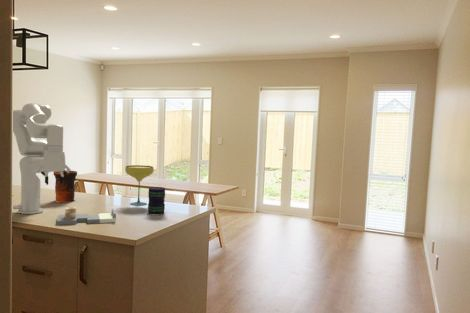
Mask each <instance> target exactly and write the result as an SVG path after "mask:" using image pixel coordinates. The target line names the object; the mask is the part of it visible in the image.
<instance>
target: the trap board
mask: <svg viewBox="0 0 470 313" xmlns="http://www.w3.org/2000/svg"><path fill="white" fill-rule="evenodd" d="M78 223H87V224H104V223H117V213H116V211H115V209H114V208H111V212H105V213H104V212H103V213H101V212H100V213H98V214H93V215H90V214H89V213H80V214H79V213H76V218H69V219H65V214H58V215H57V221H56V225H57V226H63V225H64V226H65V225H77V224H78Z"/></svg>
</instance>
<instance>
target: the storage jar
mask: <svg viewBox="0 0 470 313" xmlns="http://www.w3.org/2000/svg"><path fill="white" fill-rule="evenodd" d="M147 193H148V194H147V195H148V197H147V198H148V204H147V214H148V213H149V215H153V214H159V215H164V214H165V206H166V205H165V197H166V188H165V187H162V186H150V187H148V192H147ZM163 213H164V214H163Z"/></svg>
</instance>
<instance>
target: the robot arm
mask: <svg viewBox="0 0 470 313" xmlns="http://www.w3.org/2000/svg"><path fill="white" fill-rule="evenodd" d="M12 111H13V131H12V133H13V134H14V137H15V140H16V144H17V148H18V152H19V154H20V155H21V156H22V157H21V159H20V160H19V169H20V181H21V182H20V190H21V191H20V203H19V204H18V205H15V204H14V205H13V209H12V210H17V213H18V214H20V213H21V215H34V214H40V213H42V212H44V209H43V208H41V179H40V177H39V176H38V175H37V174H41V175H42V176H44V183H45V184H46V186H48V185H49V175H48V174H49V173H51V172H53V173H54V172H60V174H61V177H60V185H62V183H63V177H64V176H65V175H66V174H67V173H68V172H69V171H72V170H71V168H70V167H69V166H68V165H67V164H66V153H65V151H64V126H63V125H62V124H54V123H47V121H49V120H50V119H51V116H52V109H51V107H50V106H49V105H48V104H42V103H26V104H23V106H22V108H21V109H16V110H12ZM43 139H44V140H43ZM45 139H46V140H45ZM64 170H67V171H65V172H64V173H63V171H64Z"/></svg>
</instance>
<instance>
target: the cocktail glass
mask: <svg viewBox="0 0 470 313" xmlns="http://www.w3.org/2000/svg"><path fill="white" fill-rule="evenodd" d="M125 173H126V174H127V175H129V176H130V177H132V178H134V179H136V180H135V181H137V182H138V192H137V194H138V195H137V201H134V202H130V203H129V205H130V206H135V207H136V206H137V207H138V206H142V207H143V206H146V205H148V204H147V202H143V201H141V200H140V189H141V188H140V186H141V184H140V183H141V182H142V181H143V179H145V178H147V177H149V176H151V175H152V174H153V173H154V166H151V165H138V164H137V165H135V164H133V165H126V166H125Z"/></svg>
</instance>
